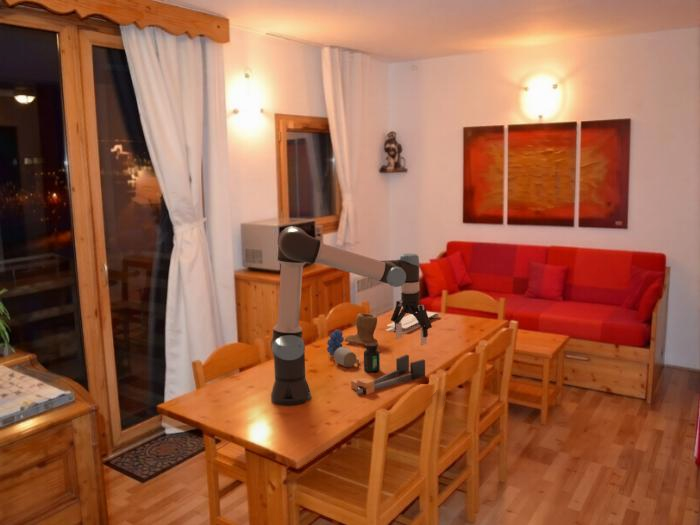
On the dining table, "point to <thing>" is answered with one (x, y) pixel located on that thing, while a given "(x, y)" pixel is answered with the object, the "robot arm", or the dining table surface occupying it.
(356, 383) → the lock collar
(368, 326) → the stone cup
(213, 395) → the dining table surface
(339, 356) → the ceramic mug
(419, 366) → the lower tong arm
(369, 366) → the supplement bottle
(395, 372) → the upper tong arm
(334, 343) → the grapes
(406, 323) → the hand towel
